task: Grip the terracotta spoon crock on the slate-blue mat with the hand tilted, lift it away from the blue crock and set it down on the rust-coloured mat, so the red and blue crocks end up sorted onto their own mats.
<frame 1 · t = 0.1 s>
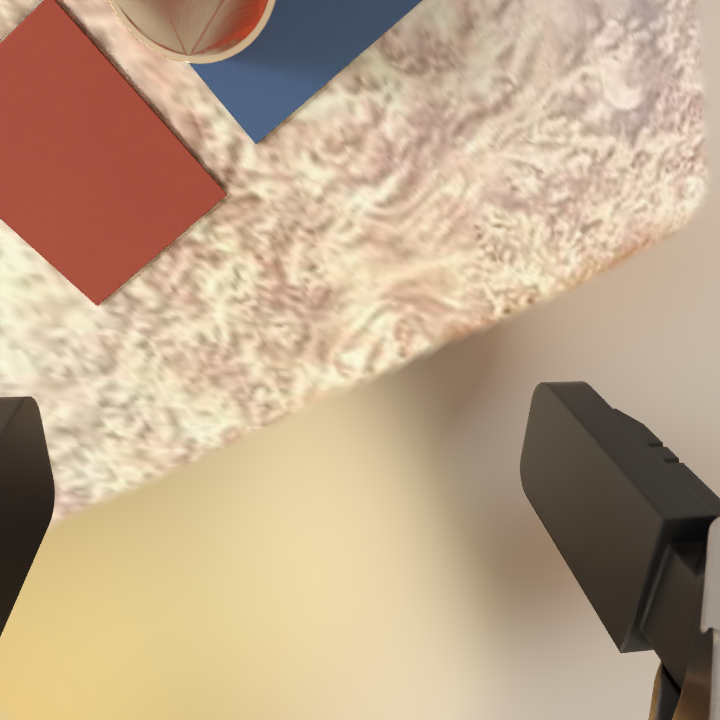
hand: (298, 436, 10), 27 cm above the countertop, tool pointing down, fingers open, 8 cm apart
rust mat: (76, 165, 33), on the countertop
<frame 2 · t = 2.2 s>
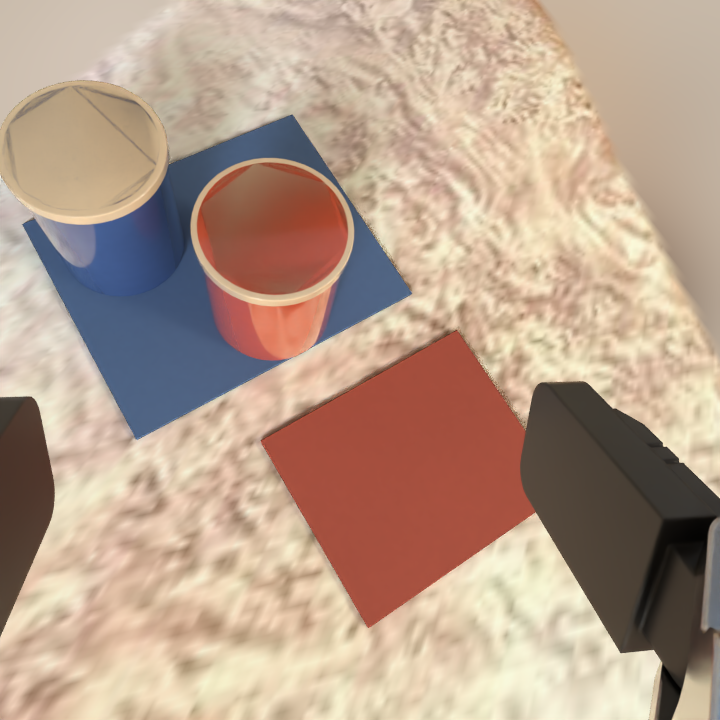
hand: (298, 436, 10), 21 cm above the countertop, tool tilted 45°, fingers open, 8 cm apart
terracotta crock: (271, 304, 33), resting on blue mat
blue crock: (124, 242, 33), resting on blue mat
blue mat: (222, 261, 34), on the countertop
rust mat: (415, 466, 32), on the countertop
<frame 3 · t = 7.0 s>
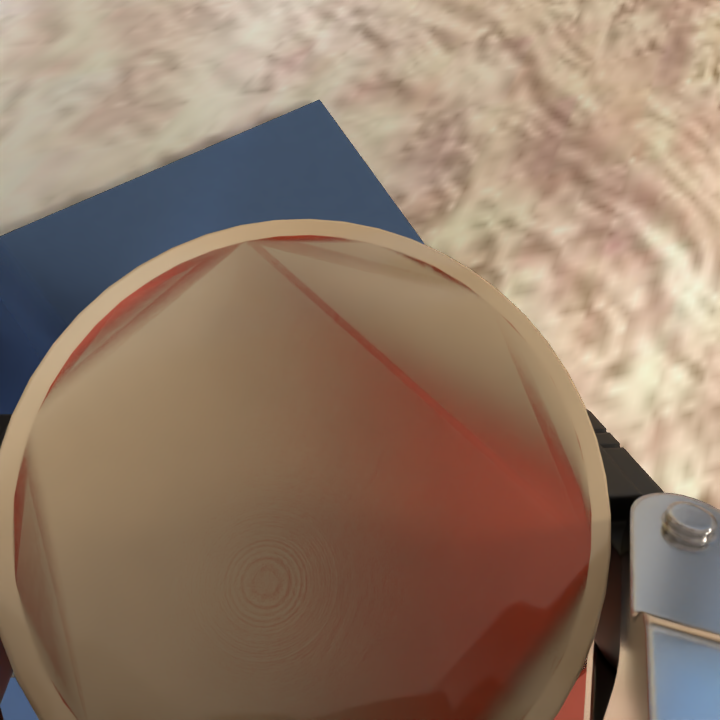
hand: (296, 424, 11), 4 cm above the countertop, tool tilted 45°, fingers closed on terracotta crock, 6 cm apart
terracotta crock: (291, 537, 14), resting on blue mat, touching gripper
blue mat: (176, 431, 15), on the countertop
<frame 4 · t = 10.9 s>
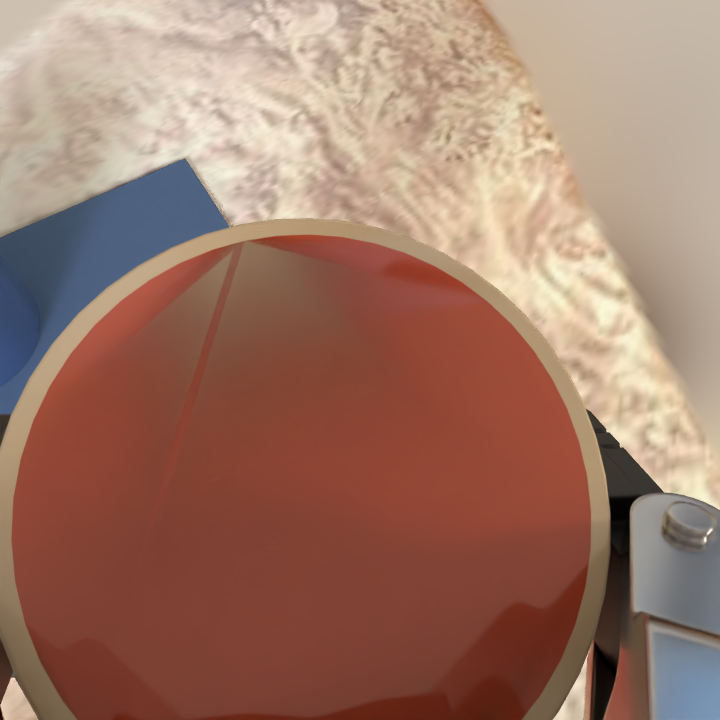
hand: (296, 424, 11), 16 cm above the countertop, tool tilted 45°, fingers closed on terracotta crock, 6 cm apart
terracotta crock: (291, 536, 14), point 12 cm above the countertop, touching gripper
blue mat: (89, 348, 27), on the countertop
when the fingers open (4 cm above the countertop, at t = 14.9 s): terracotta crock stays where it is, resting on rust mat.
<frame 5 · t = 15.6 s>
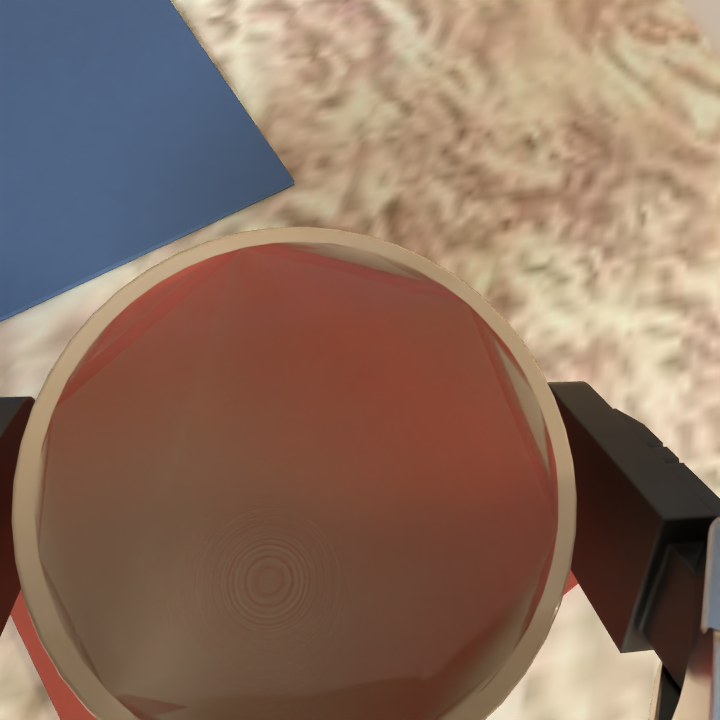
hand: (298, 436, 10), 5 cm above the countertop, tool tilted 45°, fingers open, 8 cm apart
terracotta crock: (290, 526, 15), resting on rust mat
rust mat: (288, 522, 15), on the countertop
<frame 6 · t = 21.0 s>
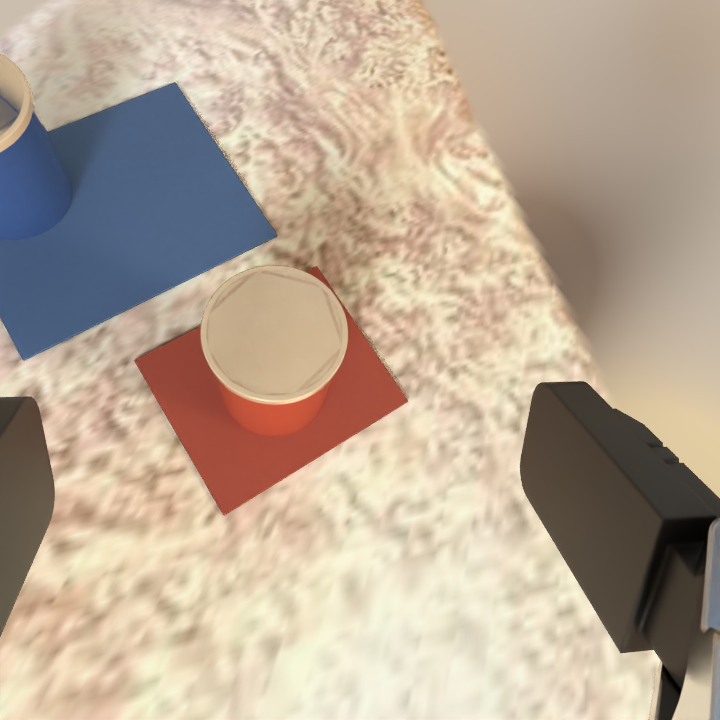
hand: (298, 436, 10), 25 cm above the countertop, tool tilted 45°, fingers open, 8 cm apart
terracotta crock: (274, 382, 36), resting on rust mat
blue crock: (17, 194, 38), resting on blue mat
blue mat: (107, 209, 38), on the countertop
rust mat: (273, 382, 36), on the countertop
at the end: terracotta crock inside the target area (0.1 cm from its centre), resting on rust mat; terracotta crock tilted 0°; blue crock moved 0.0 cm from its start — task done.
